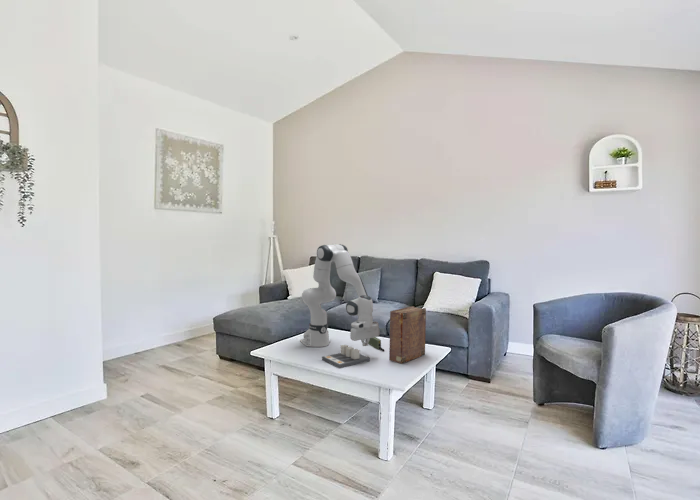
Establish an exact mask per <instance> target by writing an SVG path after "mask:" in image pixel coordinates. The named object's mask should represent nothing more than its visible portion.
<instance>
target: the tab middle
mask: <svg viewBox="0 0 700 500" xmlns="http://www.w3.org/2000/svg"><path fill="white" fill-rule="evenodd" d="M353 349H355V348H354V347H352V346H348V347H346V356H348V357H351V353H352V350H353Z"/></svg>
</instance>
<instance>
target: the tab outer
mask: <svg viewBox="0 0 700 500" xmlns="http://www.w3.org/2000/svg"><path fill="white" fill-rule="evenodd" d="M360 351H361V350H360V349H358V348H354V349H353V350H352V353H351V358H352V359H354V360H355V359H359V354H361V353H360Z"/></svg>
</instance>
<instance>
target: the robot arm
mask: <svg viewBox="0 0 700 500" xmlns="http://www.w3.org/2000/svg"><path fill="white" fill-rule="evenodd" d="M348 250H349V249H348V247H347V246H346V245H344V244H341V243H339V244H337V243H335V244H334V243H332V244H323V245H319V246H318V248H317V249H316V257H315V262H314V267H313V275H312V276H313V280H314V281H315V282H316V283H317V284H318V286H317V287H312V288H307V289H305V290H303V291H302V293H301V300H302V301H303V302H302V303H304V304H305V305H306V306H307V307H308V309H309V312H310V323H309V325H308V326H309V327H308V329H307V330H306V331H304V333H303V338H301V339H300V340H299V341H300V342H301V343H302V344H303V345H304V346H305V347H313V348H322V347H327V346H329V345H330V343H331V340H330V334H329V330H328V327H329V325H328V313H327V311H326V310H325V309H324V308H322V304H327V303H330V302H333V301H335V300H336V297H337V292H336V289H335V288H334V287H333V286H332V284H331V281H330V280H331V279H330V277H331V269H332V263H334V264H335V269H336V272H337V275H338V278H339V280H341V281H343V282H344V283H347V284H350V285H352V286H353V288H354V289H355V291H356V295H357V298H355V299H351V300H349V301H347V302H346V305H345V311H346V313H347V315H349V316H350V317H351V316H353V317H355V316H357V317H358V318H357V319H356V320H355V321H353V322H351V323H350V327H351V328H350V335H349V336H350V340H351V341H353V342H357V341H361V343H362V347H368V346H369V344H368V342H369V340H370V338H373V337H376V338H378V337H379V336H380V327H379V326H380V324H379V322H378V321H377V320H376V321H373V320H374V317H373V313H374V303H373V299H372V297H371V296H370V295H368V292H367V290H366V287H365V285H364V282H363V280H362V278H361V276H360V274H358V273H357V270H356V269H355V265H354V262H353V259H352V257H351V255H350V253H349V251H348ZM365 339H366V342H365Z"/></svg>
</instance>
